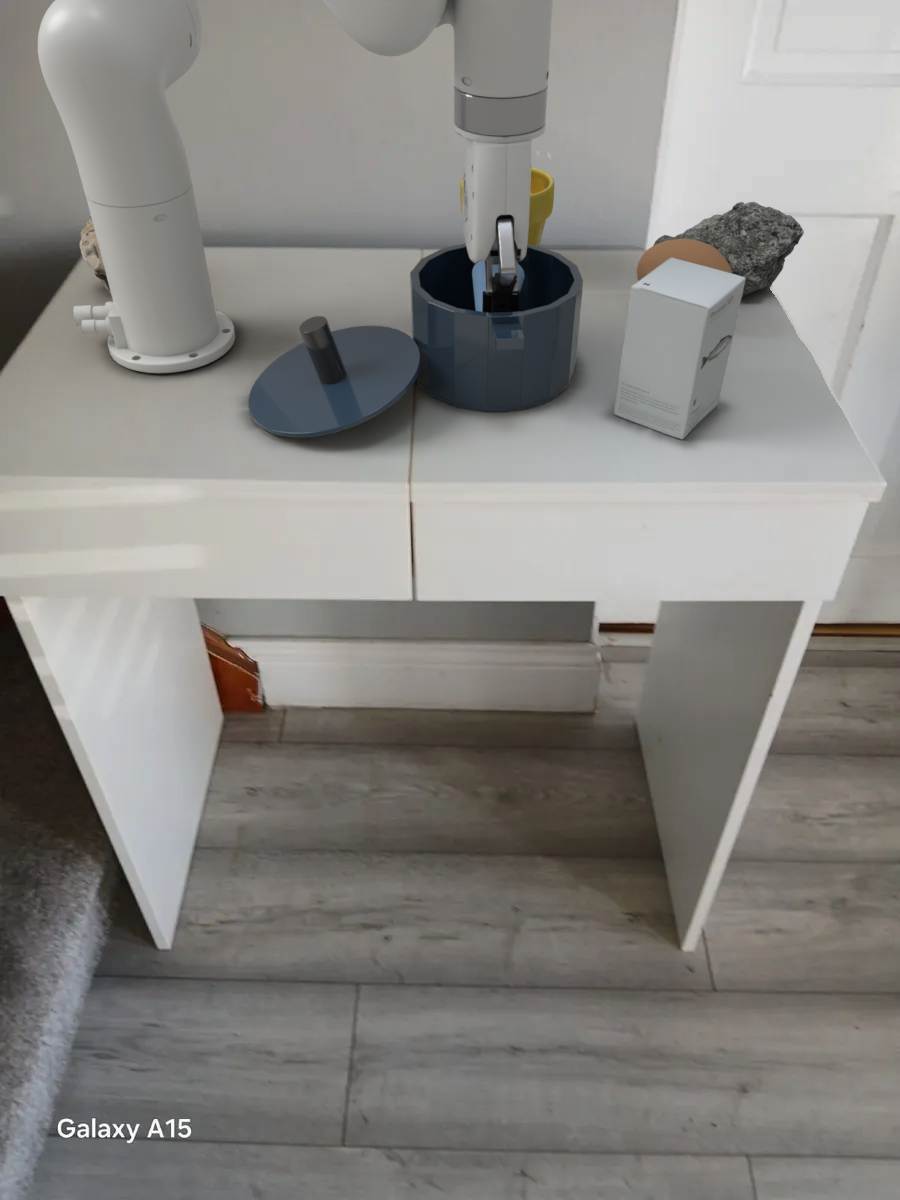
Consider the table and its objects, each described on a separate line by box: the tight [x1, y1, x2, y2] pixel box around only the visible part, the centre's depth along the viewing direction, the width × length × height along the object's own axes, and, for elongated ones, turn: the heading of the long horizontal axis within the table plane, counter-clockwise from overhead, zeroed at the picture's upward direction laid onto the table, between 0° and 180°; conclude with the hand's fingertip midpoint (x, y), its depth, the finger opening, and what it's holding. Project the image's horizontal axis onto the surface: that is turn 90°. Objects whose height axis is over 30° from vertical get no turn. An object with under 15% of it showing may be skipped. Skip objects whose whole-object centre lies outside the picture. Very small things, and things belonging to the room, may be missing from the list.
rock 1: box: [79, 215, 111, 294], centre depth 107 cm, size 9×7×10 cm
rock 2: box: [652, 201, 805, 297], centre depth 107 cm, size 13×13×10 cm
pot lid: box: [247, 315, 421, 439], centre depth 87 cm, size 17×17×7 cm
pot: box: [409, 242, 584, 413], centre depth 91 cm, size 16×21×10 cm
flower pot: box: [459, 167, 555, 247], centre depth 108 cm, size 10×10×10 cm
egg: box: [636, 238, 732, 282], centre depth 101 cm, size 8×8×11 cm
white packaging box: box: [612, 258, 746, 440], centre depth 84 cm, size 7×7×13 cm
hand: (494, 312), depth 90 cm, fingers closed on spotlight, 7 cm apart
